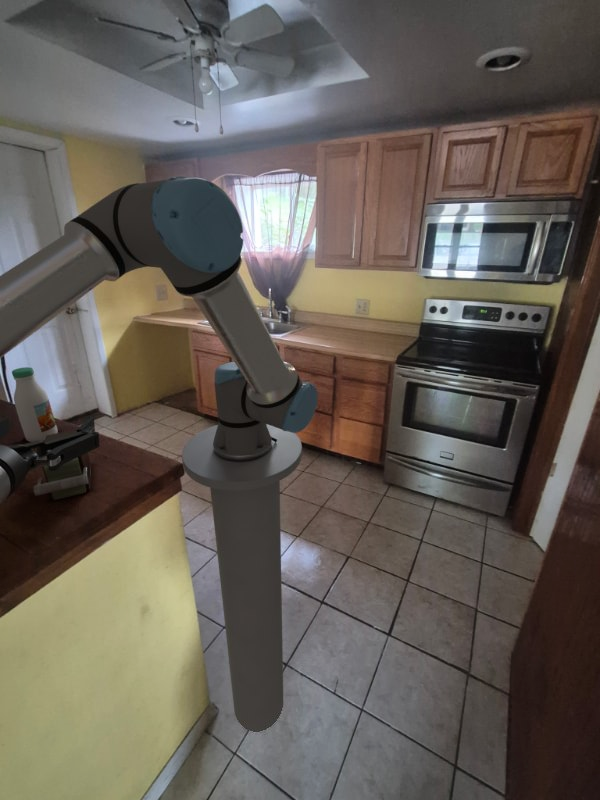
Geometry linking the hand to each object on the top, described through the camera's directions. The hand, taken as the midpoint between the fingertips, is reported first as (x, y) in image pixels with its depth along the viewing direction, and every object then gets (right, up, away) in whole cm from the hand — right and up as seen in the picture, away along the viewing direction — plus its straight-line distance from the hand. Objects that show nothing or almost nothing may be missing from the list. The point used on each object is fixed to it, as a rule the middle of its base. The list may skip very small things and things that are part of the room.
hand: (50, 424), depth 66 cm
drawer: (-6, -16, +15) cm, 22 cm away
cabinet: (-8, -15, +19) cm, 25 cm away
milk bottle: (-28, -6, +39) cm, 48 cm away
